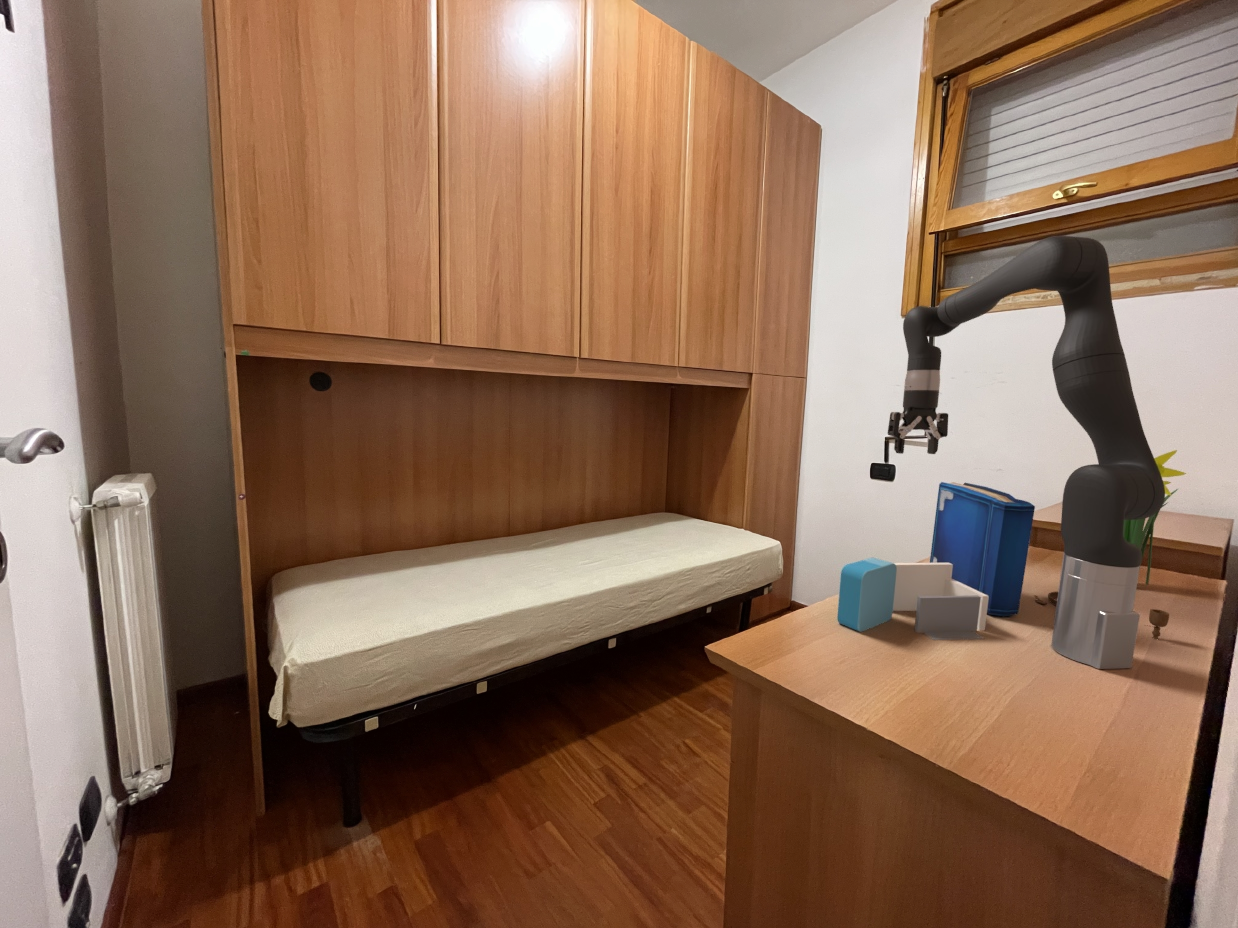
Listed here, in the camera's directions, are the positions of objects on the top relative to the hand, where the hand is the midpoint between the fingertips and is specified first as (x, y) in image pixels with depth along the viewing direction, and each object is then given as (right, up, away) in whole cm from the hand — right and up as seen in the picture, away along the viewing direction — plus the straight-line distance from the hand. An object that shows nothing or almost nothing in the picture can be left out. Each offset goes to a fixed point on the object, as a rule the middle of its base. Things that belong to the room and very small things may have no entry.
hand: (915, 453), depth 124 cm
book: (+3, -33, -15) cm, 36 cm away
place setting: (+24, -35, -22) cm, 47 cm away
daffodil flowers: (+49, -33, -4) cm, 59 cm away
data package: (-27, -34, -28) cm, 52 cm away
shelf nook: (-13, -34, -28) cm, 46 cm away
